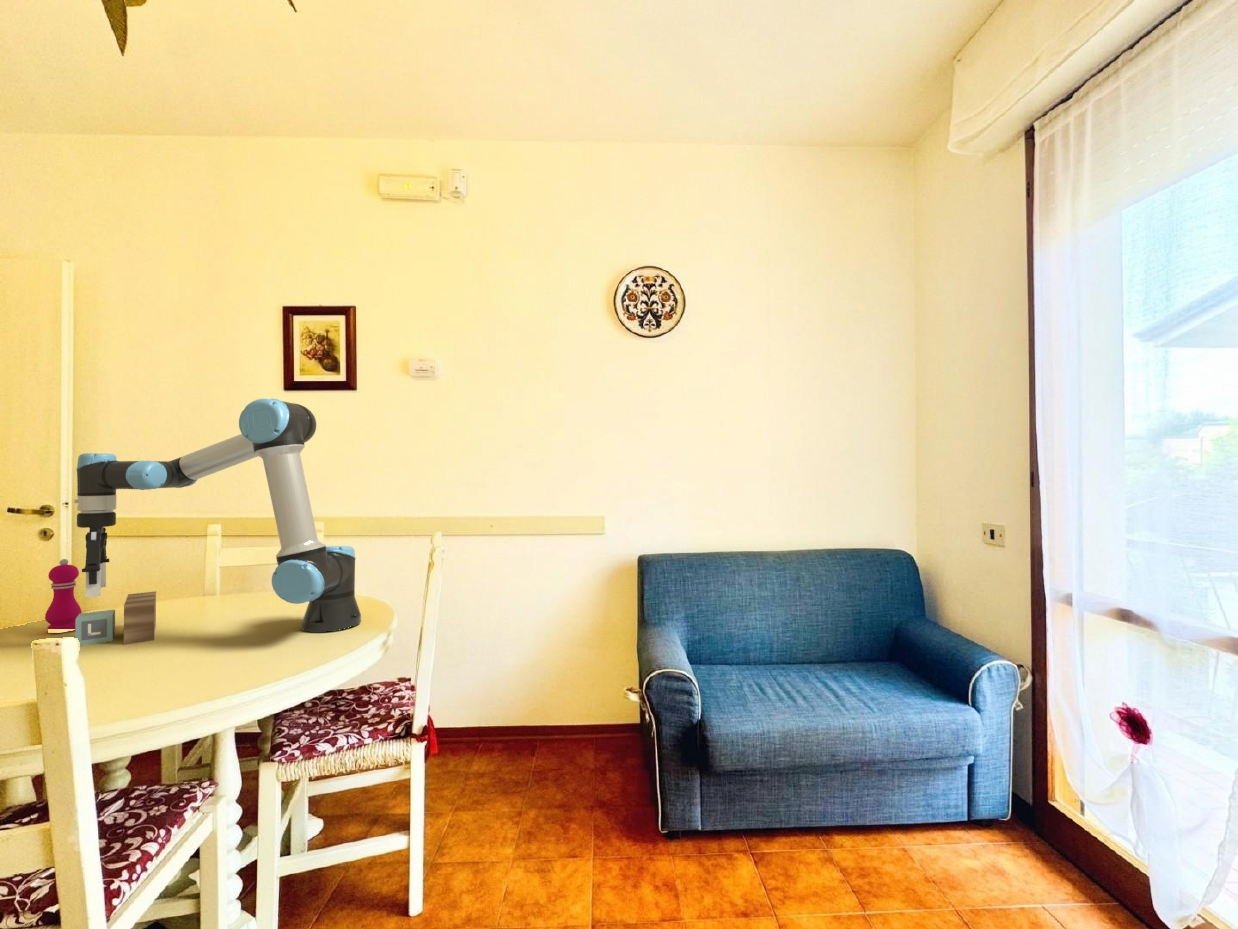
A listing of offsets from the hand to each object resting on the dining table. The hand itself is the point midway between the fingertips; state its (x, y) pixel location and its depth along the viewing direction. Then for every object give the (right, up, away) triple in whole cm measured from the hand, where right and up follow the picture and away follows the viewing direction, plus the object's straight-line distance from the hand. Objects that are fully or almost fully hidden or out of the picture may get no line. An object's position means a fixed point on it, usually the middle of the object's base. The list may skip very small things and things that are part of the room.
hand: (96, 592), depth 146 cm
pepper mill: (-17, -13, +8) cm, 23 cm away
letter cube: (0, -13, 0) cm, 13 cm away
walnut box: (+8, -13, +5) cm, 16 cm away
